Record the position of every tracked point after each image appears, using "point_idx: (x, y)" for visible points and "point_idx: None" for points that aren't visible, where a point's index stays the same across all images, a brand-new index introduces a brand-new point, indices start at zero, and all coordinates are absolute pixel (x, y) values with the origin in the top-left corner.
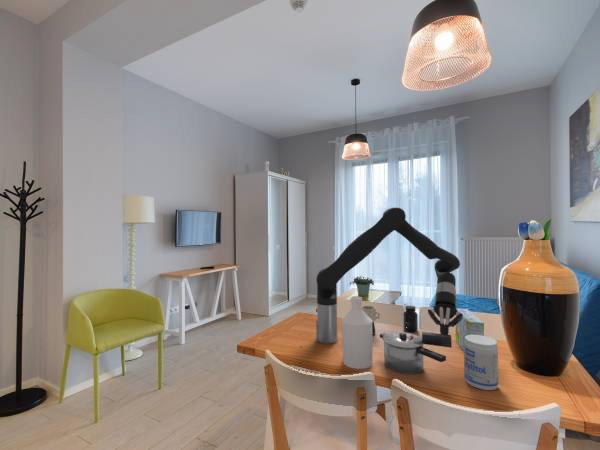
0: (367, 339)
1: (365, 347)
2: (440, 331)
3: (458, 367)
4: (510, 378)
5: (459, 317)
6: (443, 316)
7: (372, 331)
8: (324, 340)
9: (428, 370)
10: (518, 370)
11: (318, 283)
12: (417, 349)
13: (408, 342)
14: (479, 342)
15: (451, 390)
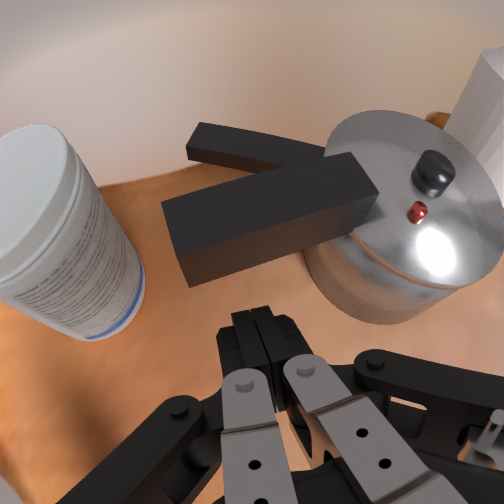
0: (463, 101)
1: (452, 116)
2: (286, 318)
3: (191, 388)
4: (23, 397)
5: (76, 492)
6: (330, 466)
7: None
8: None
9: (287, 270)
10: (15, 480)
11: None
12: (324, 150)
13: (381, 153)
14: (14, 140)
15: (176, 185)
